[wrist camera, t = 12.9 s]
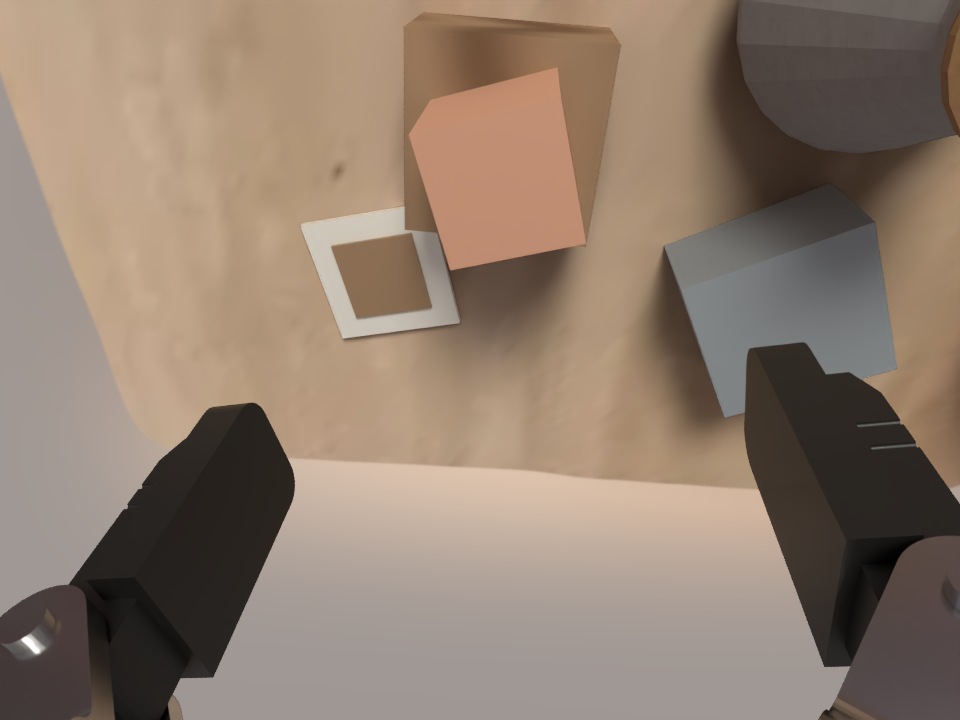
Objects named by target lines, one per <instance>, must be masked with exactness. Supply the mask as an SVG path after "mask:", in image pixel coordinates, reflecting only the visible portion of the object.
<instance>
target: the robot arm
mask: <svg viewBox="0 0 960 720" xmlns="http://www.w3.org/2000/svg"><path fill="white" fill-rule="evenodd" d="M744 431H745V442H746V449H747V454H748V459H749V463H750V466H751V469H752V472H753V475H754V477H755V480H756V483H757V486H758V488H759V491H760V494H761V496H762V499H763V502H764V504H765V507H766V510H767V513H768V515H769V518H770V521H771V523H772V526H773V529H774V531H775V534H776V537H777V540H778V542H779V545H780V548H781V551H782V553H783V556H784V559H785V561H786V564H787V567H788V569H789V572H790V575H791V578H792V580H793V583H794V586H795V588H796V591H797V594H798V597H799V599H800V602H801V604H802V608H803V610H804V613H805V616H806V618H807V621H808V624H809V626H810V629H811V632H812V635H813V637H814V640H815V643H816V646H817V648H818V651H819V654H820V656H821V659H822V662H823V665H824V667H839V666H850V669H849V671H848V673H847V675H846V678H845V680H844V682H843V684H842V687H841V689H840V691H839V693H838V695H837V698H836V700H835V702H834V703H833V705H832V707H831V709H830V710H829V711H828V710H825V711H824V712H823V713H822V714H821V716H820V717H819V719H818V720H960V504H959V502H958V501H957V499H956V498H955V497H954V495H953V494H952V492H951V491H950V489H949V488H948V487H947V485H946V484H945V482H944V481H943V480H942V478H941V477H940V475H939V474H938V472H937V471H936V470H935V468H934V467H933V465H932V464H931V463H930V461H929V460H928V458H927V457H926V455H925V454H924V453H923V451H922V450H921V448H920V447H918V448H917V447H916V441H915V440H914V438H913V437H912V436H911V434H910V433H909V431H908V430H907V429H906V427H905V426H904V425H901V424H900V419H899V417H898V416H897V414H896V413H895V412H894V410H893V409H892V407H891V406H890V405H889V403H888V402H887V400H886V399H885V397H884V396H883V395H882V393H881V392H879V391H878V390H876V389H875V388H873V387H872V386H870V385H869V384H867V383H865V382H864V381H862V380H861V379H859V378H858V377H856V376H855V375H853V374H852V373H850V372H845V373H835V374H825V372H824V370H823V369H822V367H821V365H820V364H819V362H818V361H817V359H816V357H815V356H814V354H813V352H812V351H811V349H810V348H809V346H808V345H807V344H806V343H804V342H800V343H791V344H782V345H773V346H764V347H755V348H750V349H749V351H748V354H747V362H746V392H745V423H744ZM294 488H295V480H294V473H293V470H292V467H291V465H290V463H289V460H288V458H287V456H286V454H285V452H284V450H283V448H282V446H281V444H280V442H279V440H278V438H277V436H276V434H275V432H274V430H273V428H272V426H271V424H270V422H269V420H268V418H267V416H266V414H265V412H264V411H263V409H262V408H261V407H260V406H259V405H258V404H256V403H245V404H236V405H227V406H218V407H212V408H209V409H208V410H207V411H206V412H205V413H204V414H203V416H202V417H201V419H200V420H199V421H198V423H197V424H196V426H195V427H194V429H193V430H192V431H191V433H190V434H189V436H188V437H187V438H186V439H184V440H183V441H182V442H181V443H180V444H178V445H177V446H176V447H175V448H174V449H173V450H171V451H170V452H169V453H168V454H167V455H165V456H164V457H163V458H162V459H161V460H160V461H159V462H158V463H157V465H156V466H155V467H154V469H153V470H152V472H151V473H150V474H149V476H148V477H147V478H146V480H145V481H144V482H143V484H142V489H138V491H137V492H136V493H135V495H134V496H133V497H132V499H131V500H130V501H129V503H128V509H124V510H123V511H122V512H121V514H120V515H119V517H118V518H117V519H116V521H115V522H114V524H113V525H112V526H111V527H110V529H109V530H108V532H107V533H106V534H105V536H104V537H103V538H102V540H101V541H100V542H99V544H98V545H97V547H96V548H95V549H94V551H93V552H92V553H91V555H90V556H89V558H88V559H87V560H86V562H85V563H84V564H83V566H82V567H81V568H80V570H79V571H78V572H77V574H76V575H75V577H74V578H73V579H72V581H71V582H70V583H69V585H59V586H54V587H50V588H47V589H44V590H42V591H39V592H37V593H35V594H33V595H31V596H30V597H27V598H26V599H24V600H22V601H21V602H19V603H18V604H16V605H15V606H13V607H12V608H11V609H9V610H8V611H7V612H6V613H4V614H3V615H2V616H1V617H0V720H183V716H182V711H181V707H180V704H179V702H178V700H177V699H176V698H175V696H174V695H173V692H174V690H175V688H176V686H177V684H178V682H179V680H180V678H207V677H214V674H215V672H216V670H217V668H218V665H219V663H220V661H221V659H222V656H223V654H224V652H225V650H226V648H227V645H228V643H229V641H230V639H231V636H232V634H233V632H234V630H235V628H236V625H237V623H238V621H239V619H240V616H241V614H242V612H243V610H244V607H245V605H246V603H247V601H248V599H249V596H250V594H251V592H252V590H253V588H254V585H255V583H256V581H257V579H258V577H259V574H260V572H261V570H262V567H263V565H264V563H265V561H266V559H267V557H268V554H269V552H270V550H271V548H272V545H273V543H274V541H275V538H276V536H277V534H278V532H279V530H280V528H281V525H282V523H283V521H284V518H285V516H286V514H287V512H288V510H289V508H290V505H291V503H292V500H293V496H294Z"/></svg>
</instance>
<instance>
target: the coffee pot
mask: <svg viewBox="0 0 960 720" xmlns="http://www.w3.org/2000/svg"><path fill="white" fill-rule="evenodd" d="M736 42H737V46H738V51H739V56H740V61H741V66H742V70H743V75H744V80H745V83H746V84H747V86H748V88H749V90H750V92H751V94H752V95H753V97H754V99H755V101H756V103H757V104H758V106H759V108H760V110H761V112H762V113H763V114H764V115H765V116H766V117H768V118H769V119H770V120H771V121H772V122H773V123H774V124H775V125H776V126H777V127H779V128H780V129H781V130H782V131H783V132H784V133H785V134H786V135H788V136H790V137H792V138H795V139H797V140H799V141H801V142H804V143H806V144H808V145H810V146H813V147H815V148H817V149H821V150H829V151H837V152H845V153H853V154H861V153H868V152H876V151H884V150H892V149H898V148H902V147H906V146H911V145H915V144H919V143H923V142H927V141H932V140H936V139H940V138H944V137H948V136H953V135H958V136H959V137H960V0H739V5H738V23H737V41H736Z"/></svg>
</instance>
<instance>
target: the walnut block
mask: <svg viewBox="0 0 960 720" xmlns="http://www.w3.org/2000/svg"><path fill="white" fill-rule="evenodd" d="M620 47H621V44H620V43H619V41H618V40H617V38H616V37H615V35H614V34H613V32H612V31H611V29H610V28H606V27H594V26H582V25H570V24H558V23H546V22H534V21H522V20H510V19H498V18H486V17H474V16H462V15H450V14H438V13H426V12H424V13H422V14H421V15H419V16H418V17H417V18H415V19H414V20H412V21H411V22H410V23H408V24H407V25H405V26H404V202H405V230H413V231H423V232H434V233H439V232H438V229H437V225H436V222H435V219H434V216H433V212H432V209H431V206H430V203H429V199H428V196H427V193H426V190H425V186H424V183H423V180H422V177H421V173H420V170H419V167H418V163H417V160H416V157H415V154H414V150H413V147H412V144H411V141H410V137H409V133H410V132H411V130H412V129H413V127H414V126H415V124H416V122H417V121H418V119H419V118H420V116H421V114H422V113H423V111H424V110H425V108H426V106H427V105H428V103H429V102H430V100H432V99H436V98H440V97H444V96H447V95H451V94H455V93H459V92H463V91H467V90H471V89H475V88H479V87H483V86H486V85H490V84H494V83H498V82H502V81H506V80H510V79H514V78H518V77H522V76H526V75H529V74H533V73H537V72H541V71H545V70H549V69H553V68H557V67H558V73H559V79H560V85H561V90H562V96H563V102H564V108H565V114H566V120H567V126H568V131H569V137H570V143H571V149H572V155H573V161H574V167H575V172H576V178H577V184H578V190H579V196H580V203H581V210H582V218H583V225H584V232H585V239H586V243H587V237H588V231H589V226H590V220H591V214H592V208H593V203H594V197H595V191H596V185H597V180H598V174H599V168H600V162H601V156H602V151H603V145H604V139H605V133H606V128H607V122H608V116H609V110H610V104H611V99H612V93H613V87H614V81H615V76H616V70H617V64H618V58H619V53H620ZM577 246H583V247H586V244H582V245H577Z"/></svg>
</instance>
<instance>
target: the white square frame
mask: <svg viewBox="0 0 960 720" xmlns="http://www.w3.org/2000/svg"><path fill="white" fill-rule="evenodd" d="M301 229H302V231H303V234H304V237H305V239H306V242H307V245H308V247H309V250H310V253H311V255H312V258H313V261H314V263H315V266H316V269H317V271H318V274H319V277H320V279H321V282H322V285H323V287H324V290H325V292H326V295H327V298H328V300H329V303H330V306H331V308H332V311H333V314H334V316H335V319H336V322H337V324H338V327H339V330H340V332H341V335H342V338H351V337H358V336H366V335H373V334H381V333H389V332H396V331H404V330H412V329H419V328H427V327H434V326H442V325H450V324H457V323H460V320H461V319H460V315H459V311H458V307H457V303H456V299H455V295H454V291H453V287H452V283H451V279H450V275H449V271H448V267H447V263H446V259H445V255H444V251H443V247H442V243H441V239H440V235H439V233H434V232H423V231H413V230H405V206H402V207H396V208H390V209H384V210H379V211H373V212H367V213H361V214H355V215H349V216H343V217H337V218H331V219H325V220H319V221H313V222H307V223H303V224H302V225H301Z"/></svg>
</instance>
